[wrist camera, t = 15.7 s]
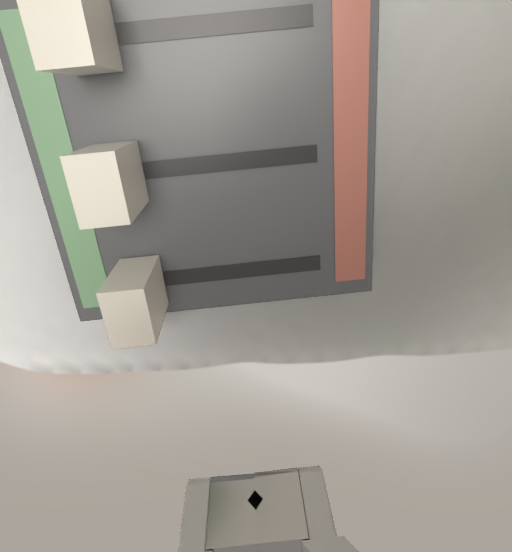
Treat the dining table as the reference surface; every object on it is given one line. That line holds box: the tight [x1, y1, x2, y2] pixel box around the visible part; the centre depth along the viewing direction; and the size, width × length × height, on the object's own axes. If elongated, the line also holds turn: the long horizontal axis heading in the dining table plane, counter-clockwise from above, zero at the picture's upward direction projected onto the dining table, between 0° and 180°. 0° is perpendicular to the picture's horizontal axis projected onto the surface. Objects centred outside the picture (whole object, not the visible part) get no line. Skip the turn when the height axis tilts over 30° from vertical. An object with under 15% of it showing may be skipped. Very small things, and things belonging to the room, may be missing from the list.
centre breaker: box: [59, 140, 149, 230], centre depth 22 cm, size 2×4×5 cm
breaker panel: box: [0, 0, 379, 321], centre depth 26 cm, size 20×19×3 cm
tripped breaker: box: [96, 255, 169, 350], centre depth 25 cm, size 2×4×5 cm
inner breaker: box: [16, 0, 124, 76], centre depth 19 cm, size 2×4×5 cm
